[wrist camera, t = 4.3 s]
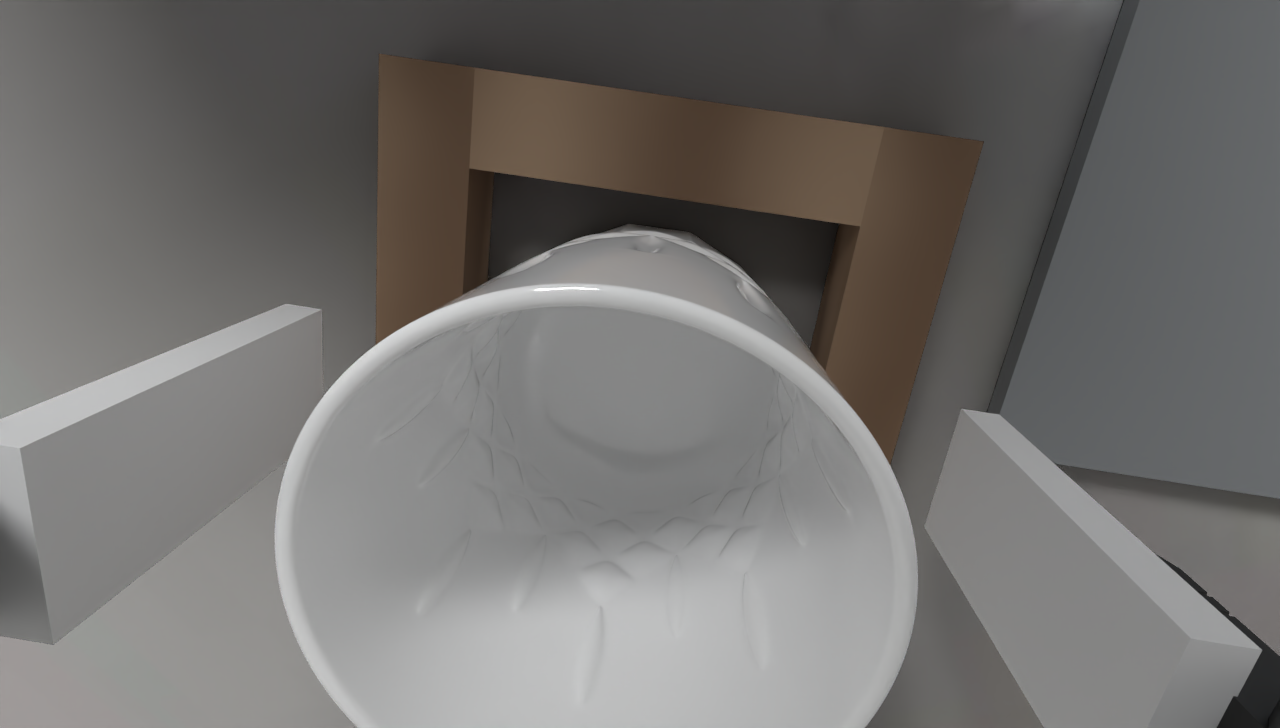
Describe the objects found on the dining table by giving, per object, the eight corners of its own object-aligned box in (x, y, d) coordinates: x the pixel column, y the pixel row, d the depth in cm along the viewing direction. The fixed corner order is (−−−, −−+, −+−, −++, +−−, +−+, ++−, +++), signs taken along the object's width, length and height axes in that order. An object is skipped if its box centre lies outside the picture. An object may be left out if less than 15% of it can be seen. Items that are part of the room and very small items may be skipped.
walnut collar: (403, 521, 20) (373, 561, 18) (416, 63, 16) (378, 53, 14) (825, 589, 20) (839, 638, 18) (948, 140, 16) (983, 141, 14)
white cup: (545, 150, 16) (343, 172, 7) (849, 267, 17) (1054, 441, 7) (460, 430, 19) (227, 727, 9) (725, 526, 19) (757, 905, 10)
